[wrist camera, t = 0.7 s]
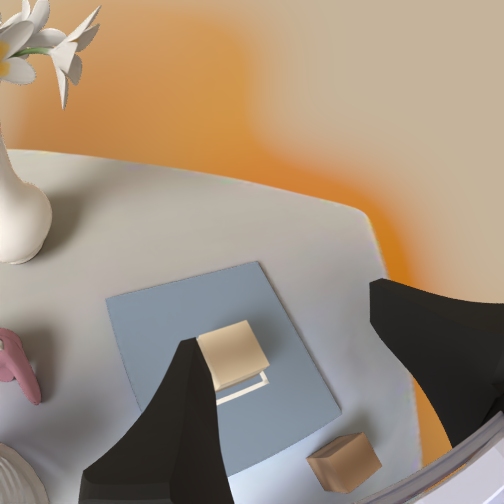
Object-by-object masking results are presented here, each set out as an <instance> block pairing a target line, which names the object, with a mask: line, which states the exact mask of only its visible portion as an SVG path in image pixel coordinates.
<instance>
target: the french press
mask: <svg viewBox="0 0 504 504" xmlns="http://www.w3.org/2000/svg"><path fill="white" fill-rule="evenodd" d="M0 504H50V503H49V500H48V497H47V494H46V491H45V488H44V485H43V484H42V482H41V481H40V479H39V478H38V476H37V474H36V473H35V471H34V470H33V468H32V466H31V465H30V464H29V463H28V462H26V461H25V460H24V459H23V458H22V457H21V456H20V455H19V454H18V453H17V452H16V451H15V450H14V449H12V448H10V447H8V446H6V445H4V444H3V443H1V442H0Z"/></svg>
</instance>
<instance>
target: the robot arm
mask: <svg viewBox="0 0 504 504" xmlns="http://www.w3.org/2000/svg"><path fill="white" fill-rule="evenodd" d="M369 285H370V323H371V325H372V326H373V328H374V329H375V331H376V332H377V334H378V335H379V337H380V338H381V340H382V341H383V342H384V343H385V344H386V346H387V347H388V348H389V349H390V350H391V351H392V352H393V354H394V355H395V356H396V357H397V358H398V359H399V360H400V361H401V363H402V364H403V365H404V366H405V367H406V368H407V369H408V371H409V372H410V373H411V374H412V375H413V377H414V378H415V379H416V381H417V382H418V384H419V385H420V387H421V388H422V390H423V391H424V393H425V394H426V396H427V398H428V399H429V401H430V403H431V405H432V406H433V408H434V410H435V411H436V413H437V415H438V417H439V419H440V421H441V423H442V425H443V427H444V429H445V432H446V434H447V436H448V438H449V441H450V443H451V446H452V448H453V449H452V450H450V451H449V452H447V453H446V454H444V455H443V456H441V457H440V458H438V459H437V460H435V461H434V462H432V463H431V464H429V465H427V466H426V467H424V468H422V469H421V470H419V471H417V472H416V473H414V474H412V475H410V476H409V477H407V478H405V479H403V480H401V481H400V482H398V483H396V484H394V485H392V486H390V487H388V488H386V489H384V490H382V491H380V492H378V493H376V494H373V495H371V496H369V497H367V498H365V499H362V500H360V501H358V502H355V503H353V504H402V503H404V502H406V501H408V500H410V499H411V498H413V497H415V496H417V495H418V494H420V493H422V492H423V491H425V490H427V489H428V488H430V487H431V486H433V485H435V484H436V483H438V482H439V481H441V480H442V479H444V478H445V477H447V476H448V475H450V474H451V473H452V472H454V471H455V470H457V469H458V468H459V467H461V466H462V465H464V464H465V463H466V462H467V463H466V465H465V466H464V467H463V468H462V469H460V470H459V471H458V472H456V473H455V474H453V475H452V476H451V477H449V478H448V479H446V480H445V481H443V482H442V483H440V484H439V485H437V486H436V487H434V488H433V489H431V490H429V491H428V492H426V493H424V494H423V495H421V496H419V497H418V498H416V499H414V500H413V501H411V502H410V503H408V504H504V304H503V303H502V304H501V303H500V304H498V303H496V304H495V303H480V302H470V301H464V300H458V299H453V298H448V297H444V296H440V295H436V294H433V293H429V292H426V291H423V290H419V289H416V288H413V287H410V286H407V285H404V284H401V283H397V282H394V281H391V280H387V279H383V278H381V279H378V280H375V281H373V282H370V283H369ZM78 504H234V500H233V497H232V493H231V490H230V486H229V482H228V478H227V474H226V470H225V466H224V462H223V457H222V453H221V446H220V438H219V427H218V415H217V403H216V394H215V388H214V384H213V379H212V374H211V372H210V369H209V367H208V365H207V363H206V360H205V358H204V356H203V353H202V351H201V349H200V346H199V344H198V341H197V339H196V337H193V338H190V339H186V340H182V341H180V343H179V345H178V347H177V349H176V351H175V354H174V356H173V358H172V361H171V363H170V365H169V367H168V369H167V371H166V373H165V375H164V378H163V380H162V382H161V383H160V385H159V387H158V389H157V391H156V392H155V394H154V396H153V398H152V399H151V401H150V403H149V404H148V406H147V407H146V409H145V410H144V412H143V413H142V414H141V416H140V417H139V418H138V420H137V421H136V422H135V423H134V424H133V426H132V427H131V428H130V429H129V430H128V431H127V433H126V434H125V435H124V436H123V437H122V438H121V439H120V440H119V441H118V442H117V443H116V444H115V445H114V446H113V447H112V448H111V449H110V450H109V451H108V452H107V453H105V454H104V455H103V456H102V457H101V458H99V459H98V460H97V461H96V462H94V463H93V464H92V465H90V466H89V467H88V468H86V469H85V470H84V471H83V474H82V480H81V486H80V494H79V502H78Z"/></svg>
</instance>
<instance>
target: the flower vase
mask: <svg viewBox="0 0 504 504" xmlns="http://www.w3.org/2000/svg"><path fill="white" fill-rule="evenodd" d="M49 7H50V6H49V2H48V0H37V2H36V4H35V7H34V9H33V11H32V13H31V7H30V4H29V1H28V0H22V12H20V13H18V14H16V15H14V16H13V17H11V18H10V19H9V20H8V21H6V22H5V23H4V24H3V25H2V26H1V28H0V81H6V82H9V83H13V84H19V85H26V84H30V83H32V82H33V81H34V80H35V78H36V73H35V70H34V68H33V67H32V65H31V64H29V63H28V62H27V61H25V59H27V58H28V56H29V54H35V53H36V54H37V53H38V54H44V55H50V56H51V57H52V59H53V62H54V66H55V69H56V73H57V78H58V83H59V88H60V94H61V101H62V108H63V110H64V109H65V107H66V102H67V97H68V86H69V84H68V80H67V78H66V77H65V76H67V77H68V78H69V79H70V81H71V82H72V83H73V85H77V84H78V83H79V80H80V77H81V72H82V61H81V59H80V57H79V56H78V55H75V54H74V53H75V52H80V51H81V50H83V49H85V48H86V47H87V46H88V45H89V44H90V42H91V41H92V40H93V38H94V36H95V35H96V33H97V31H98V28H99V26H100V24H96V25H94V26H92V27H90V28H88V27H89V26H90V25H91V23H92V22H93V20H94V19H95V17H96V15H97V14H98V12H99V10H100V8H101V6H99V7H98V8H97V9H96V10H95V11H94V12H93V13H92V14H91V15H90V16H89V17H88V18H87V19H86V20H85V21H84V22H83V23H82V24H81V25H80V26H79V27H78V28H76V29H75V30H74V31H73V32H72V33H71V34H70V35H69V36H66V35H65V34H64V33H63V32H61V31H59V30H57V29H53V28H47V29H44V30H42V31H40V30H41V29H42V27H44V26H45V24H46V23H47V20H48V18H49V13H50V8H49ZM1 24H2V21H1V14H0V25H1ZM87 28H88V29H87ZM86 29H87V30H86ZM39 31H40V32H39ZM52 46H56V47H55V48H54V47H52ZM27 47H29V49H27ZM51 222H52V209H51V204H50V202H49V200H48V198H47V196H46V195H45V193H44V192H43V191H42V190H41V189H40V188H38V187H37V186H36V185H34V184H32V183H29V182H26V181H22V180H21V179H20V178H19V177H18V175H17V174H16V173H15V171H14V169H13V167H12V165H11V163H10V160H9V157H8V154H7V150H6V146H5V142H4V139H3V134H2V130H1V125H0V262H2V263H10V264H21V263H24V262H27V261H28V260H30V259H32V258H33V257H34V256H35V255H36V254H37V253H38V252H39V250H40V249H41V247H42V245H43V242H44V240H45V238H46V237H47V234H48V232H49V229H50V227H51Z"/></svg>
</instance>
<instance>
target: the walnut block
mask: <svg viewBox="0 0 504 504" xmlns="http://www.w3.org/2000/svg"><path fill="white" fill-rule="evenodd" d="M306 459H307V461H308V463H309V465H310V466H311V468H312V470H313V471H314V473H315V475H316V477H317V478H318V480H319V482H320V483H321V485H322V487H323V488H324V490H325V491H332V492H340V493H350V492H351V491H353V490H354V489H355V488H356V487H358V486H359V485H360V484H362V483H363V482H364V481H365V480H366V479H368V478H369V477H370V476H371V475H373V474H374V473H375V472H376V471H377V470H378V469H379V468H381V467H382V465H381V463H380V461H379V459H378V457H377V456H376V454H375V452H374V450H373V448H372V447H371V445H370V443H369V441H368V439H367V437H366V436H365V434H364V432H362V433H357V434H352V435H346V436H341V437H338V438H337V439H335V440H334V441H332V442H331V443H329V444H328V445H326V446H325V447H323V448H322V449H320V450H319V451H317V452H316V453H314V454H312V455H311V456H309V457H307V458H306Z"/></svg>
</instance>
